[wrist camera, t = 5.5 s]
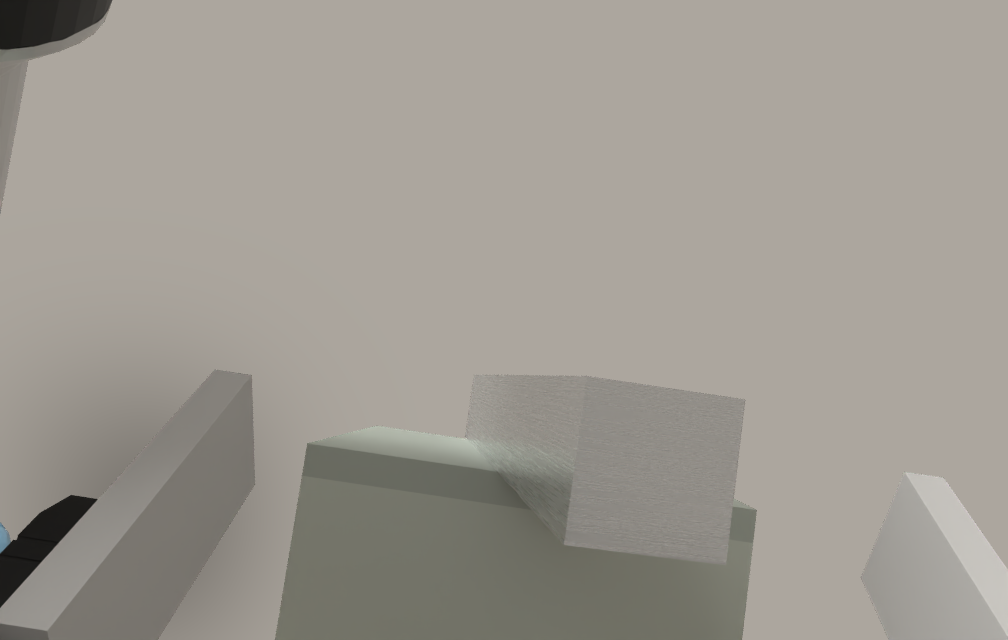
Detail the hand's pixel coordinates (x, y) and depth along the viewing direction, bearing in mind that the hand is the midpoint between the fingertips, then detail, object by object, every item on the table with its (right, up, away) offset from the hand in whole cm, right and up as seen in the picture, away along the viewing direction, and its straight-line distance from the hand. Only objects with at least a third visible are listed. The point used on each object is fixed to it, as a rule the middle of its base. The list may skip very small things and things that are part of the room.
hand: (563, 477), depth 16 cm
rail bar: (0, -2, +10) cm, 10 cm away
